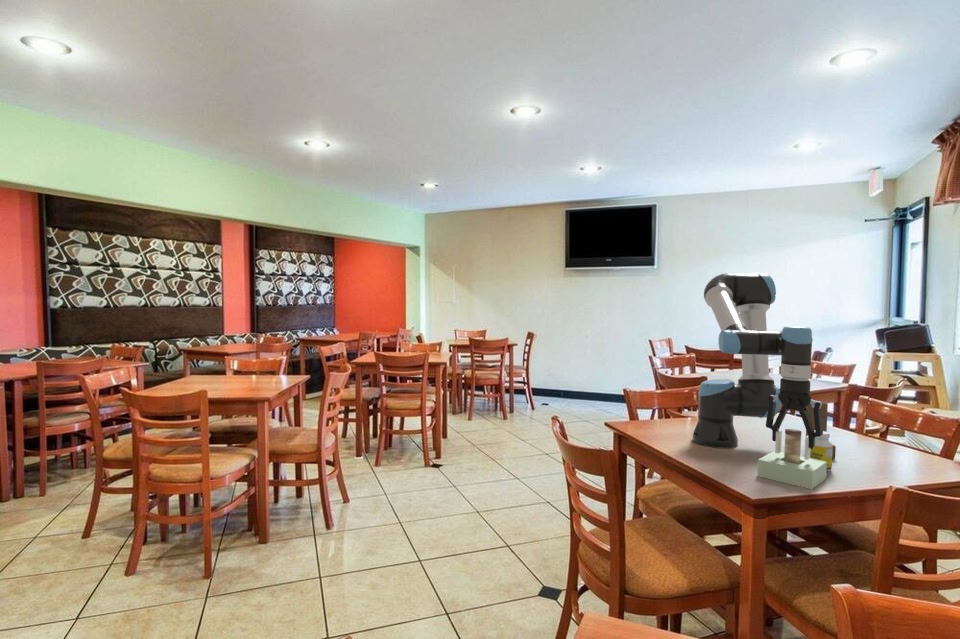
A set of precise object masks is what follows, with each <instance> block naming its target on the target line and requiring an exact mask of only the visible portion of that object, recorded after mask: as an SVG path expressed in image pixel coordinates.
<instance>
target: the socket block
mask: <svg viewBox="0 0 960 639" xmlns="http://www.w3.org/2000/svg"><path fill="white" fill-rule="evenodd" d="M804 458H805V456H802V455H800V465H799V464H795V463H790V462H785V461H784V452H783V451H781V452H780V453H775V450H774V451H772V452H769V453H767V454H766V455H764V456H761V457H760V458H758V459H757V477H761V478H764V479H769V480H773V481H777V482H781V483H784V484H789V485H792V486H796V485H797V487H800V486H801V487H800V488H804V487H805V489H808V488H809V490H813V489H814V488H816V487H817V486H818V485H820V484H821V483H822V482H824V481H825V480H826V479H827V471H826V470H827V462H826V461H821V460H816V459H811V458H810V459H808V460H806V459H804Z"/></svg>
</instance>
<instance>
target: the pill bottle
mask: <svg viewBox="0 0 960 639" xmlns="http://www.w3.org/2000/svg"><path fill="white" fill-rule="evenodd" d="M814 431H815V430H814ZM830 434H831V433H830V432H828V431H827V432H825V431H823V435H821V436H820V437H815V447H814V448H813V449H812V448H811V452H810V458H811V459H816V460H821V461H826V462H827V470H826V472H829V471H831V470H832V467H833V466H832V465H833V459H832V451H833V445H834V444H833V443H832V441H831V440H829V439H830Z"/></svg>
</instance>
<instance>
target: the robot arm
mask: <svg viewBox="0 0 960 639" xmlns="http://www.w3.org/2000/svg"><path fill="white" fill-rule="evenodd" d="M776 295H777V289H776V284H775V281H774V279H773V277H771V275H770V274H767V273H760V272H754V273H753V272H751V273H750V272H749V273H748V272H747V273H745V272H742V273H739V272H738V273H735V272H734V273H731V272H726V273H725V272H724V273H721V274H718V275H717V276H714V277H712V279H710V280H709V282H707V284H706V286H705V288H704V291H703V299H704V301H705V303H706V305H707V306H708V307H709V308H710V309H711V310H712V313H713V314H714V316H715V319H716V322H717V324H718V326H719V329H720V332H719V334H718V342H717V343H718V349H719V350H720V352H721V353H723V354H731V355H741V367H742V368H741V370H742V371H741V372H742V374H741V376H740V377H739V378H738V380H737V382H738V383H735V381H734V380H733V379H727V378H726V379H724V378H720V379H719V378H717V379H715V378H714V379H708V380H704V381H702V382H701V383H700V385H699V387H698V388H699V390H698V417H697V418H698V419H697V423H696V425H695V428H694V430H693V433H692V441H693V442H694V443H695V444H698V445H700V446H701V445H702V446H705V447H710V448H717V449H718V448H719V449H732V448H733V449H734V448H736V447H738V445H739V444H738V442H739V441H738V440H739V439H738V437H737V432H736V430H735V426H734V417H751V418H766V420H765V421H766V422H765V427H766V428H768V429H770V430H771V431H772V434H771V435H772V436H771V440H772V442H775V447H774V451H775V453H780V452H782V438H783V437H782V435H783V434H782V433H783V431H782V430H780V427H781V426H782V423H783V422H784V419H785V418H786V415H787V414H788V412H789V411H790V410H791V411H792V410H794V411H796V412H798V413H799V415H800V416H801V420H802V422H803V425H804V428H805V432H806V431H807V433H808V436H806V435H805V438H804V457H805V458H804V459H806V460H808V459H810V452H811V448H812V449H813V448H814V447H815V437H820V436H821V435H823V428H822V418H821V407H822V404H823V403H822V402H823V401H821V400H814V399H812V397H811V381H810V380H809V379H811V375H812V370H811V369H812V348H813V347H812V346H813V341H814V339H813V330H812V329H811V327H808V326H793V325H792V326H789V325H788V326H784V327H782V329H781V330H782V331H781V330H775V331H772V330H771V331H768V330H767V312H768V310H769V309H771V305H772V304H774V303H775V300H776V297H777V296H776ZM769 356H781V358H780V377H782V378H780V380H779V383H780V386H779V385H776V384H775V379H774V378H772V377H771V375H770V371H769V365H770V364H769ZM818 401H819V402H818ZM810 403H811V404H812V407H813V408H814V410H813V411H814V422H815V431H814V428H813V426H812V423H811V420H810V418H809V415H808V411H807V406H808V405H809V404H810ZM777 414H778V415H777ZM776 416H777V417H776ZM775 417H776V418H775ZM774 419H775V421H774Z"/></svg>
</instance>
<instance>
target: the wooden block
mask: <svg viewBox="0 0 960 639" xmlns="http://www.w3.org/2000/svg"><path fill="white" fill-rule="evenodd" d="M817 401H818V402H819V401H820V400H817ZM821 402H822V403H823V404H822V407H821V418H822V428H823V431H825V432H828V431H827V430H828V429H827V428H828V410H829V408H828V407H829V406H828V403H826V402H823V401H821ZM806 408H807V411H808V415H809V418H810V420H811V423H812V426H813V428H814V430H815V422H814V411H813V410H814V408H813V407H812V404H811V403H810V404H809V405H808V406H807V407H806ZM806 436H808V433H807V431H806V430H805V437H806ZM836 452H837V448H836V445H834V444H833V451H832V460H835V459H836Z"/></svg>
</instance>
